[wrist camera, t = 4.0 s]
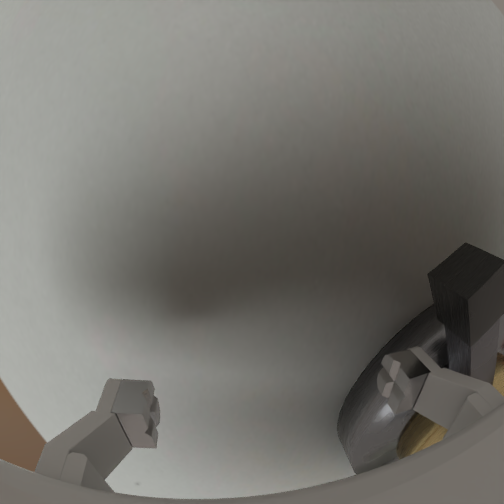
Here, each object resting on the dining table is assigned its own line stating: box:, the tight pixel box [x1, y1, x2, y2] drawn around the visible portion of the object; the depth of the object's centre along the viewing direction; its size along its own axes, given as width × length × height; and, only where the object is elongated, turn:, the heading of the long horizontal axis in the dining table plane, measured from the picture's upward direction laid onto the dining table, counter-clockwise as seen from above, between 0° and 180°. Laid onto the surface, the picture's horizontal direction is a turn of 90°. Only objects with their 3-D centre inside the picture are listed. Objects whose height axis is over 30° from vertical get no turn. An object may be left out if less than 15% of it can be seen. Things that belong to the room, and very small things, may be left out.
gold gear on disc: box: [337, 305, 504, 475], centre depth 12 cm, size 16×16×10 cm
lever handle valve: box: [396, 243, 504, 460], centre depth 10 cm, size 18×10×4 cm, turn 30°
